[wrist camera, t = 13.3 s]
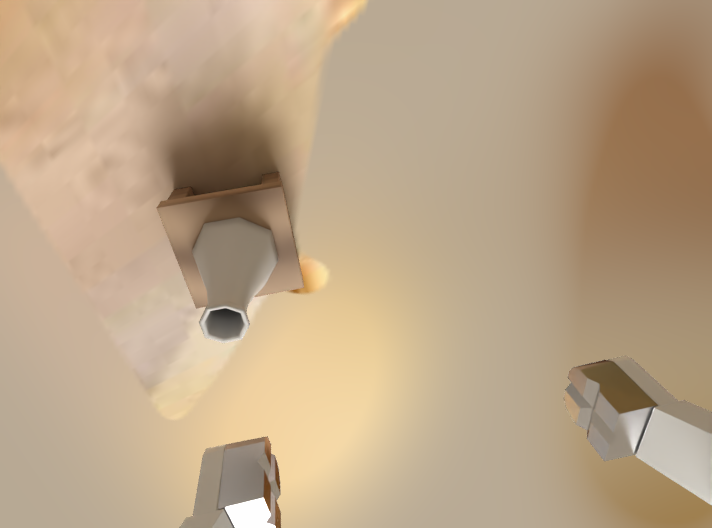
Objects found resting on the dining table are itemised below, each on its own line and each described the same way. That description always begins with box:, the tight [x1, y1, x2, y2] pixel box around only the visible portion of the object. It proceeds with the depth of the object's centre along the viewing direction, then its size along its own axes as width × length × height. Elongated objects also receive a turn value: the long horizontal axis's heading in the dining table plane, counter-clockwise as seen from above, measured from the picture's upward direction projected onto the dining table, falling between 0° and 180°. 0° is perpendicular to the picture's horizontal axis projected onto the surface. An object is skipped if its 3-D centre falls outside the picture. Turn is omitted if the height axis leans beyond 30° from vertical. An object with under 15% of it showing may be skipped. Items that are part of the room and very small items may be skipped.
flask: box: [192, 217, 279, 343], centre depth 32 cm, size 7×7×10 cm
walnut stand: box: [157, 172, 304, 308], centre depth 38 cm, size 10×10×5 cm
